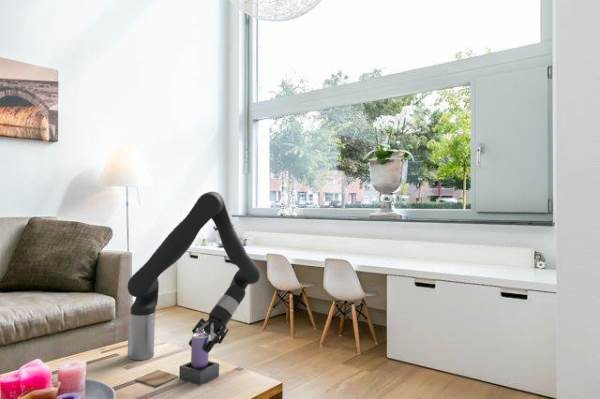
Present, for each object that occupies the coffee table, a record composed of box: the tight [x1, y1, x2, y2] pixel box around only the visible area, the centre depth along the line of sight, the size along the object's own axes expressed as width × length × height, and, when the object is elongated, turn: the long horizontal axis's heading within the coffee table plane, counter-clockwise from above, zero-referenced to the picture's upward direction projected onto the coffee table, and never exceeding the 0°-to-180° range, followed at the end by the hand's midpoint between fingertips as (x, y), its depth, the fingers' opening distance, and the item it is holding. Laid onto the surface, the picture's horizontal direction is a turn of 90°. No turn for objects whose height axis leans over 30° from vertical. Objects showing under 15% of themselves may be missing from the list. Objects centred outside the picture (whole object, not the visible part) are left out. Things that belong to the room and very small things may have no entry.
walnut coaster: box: [135, 369, 179, 388], centre depth 151 cm, size 10×10×1 cm
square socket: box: [178, 360, 220, 386], centre depth 153 cm, size 10×10×4 cm
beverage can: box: [190, 332, 210, 371], centre depth 153 cm, size 6×6×15 cm
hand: (197, 348), depth 153 cm, fingers open, 8 cm apart
